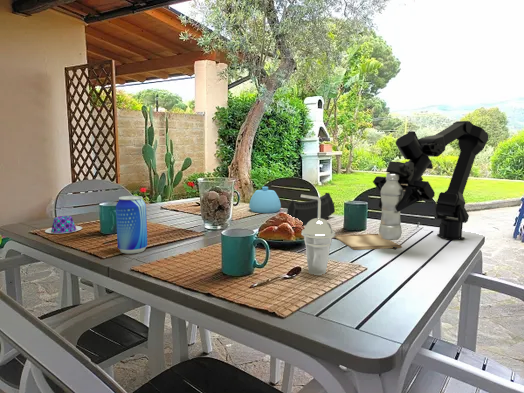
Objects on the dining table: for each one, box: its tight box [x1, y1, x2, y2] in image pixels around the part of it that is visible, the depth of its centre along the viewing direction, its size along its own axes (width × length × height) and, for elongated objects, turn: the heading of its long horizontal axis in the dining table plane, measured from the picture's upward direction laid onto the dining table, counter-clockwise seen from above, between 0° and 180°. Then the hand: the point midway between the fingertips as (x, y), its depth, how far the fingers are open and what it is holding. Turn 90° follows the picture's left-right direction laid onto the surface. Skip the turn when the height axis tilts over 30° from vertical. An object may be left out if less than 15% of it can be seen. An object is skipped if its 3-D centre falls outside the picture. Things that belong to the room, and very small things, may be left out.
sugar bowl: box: [248, 186, 282, 214], centre depth 179 cm, size 15×15×12 cm
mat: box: [334, 233, 403, 251], centre depth 125 cm, size 16×16×1 cm
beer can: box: [115, 195, 148, 255], centre depth 112 cm, size 8×8×16 cm
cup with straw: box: [299, 194, 337, 276], centre depth 94 cm, size 8×9×20 cm
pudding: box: [44, 215, 83, 235], centre depth 136 cm, size 12×12×5 cm
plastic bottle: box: [378, 172, 404, 241], centre depth 113 cm, size 6×7×20 cm
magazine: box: [286, 192, 336, 226], centre depth 154 cm, size 17×3×30 cm
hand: (388, 208), depth 112 cm, fingers closed on plastic bottle, 6 cm apart
